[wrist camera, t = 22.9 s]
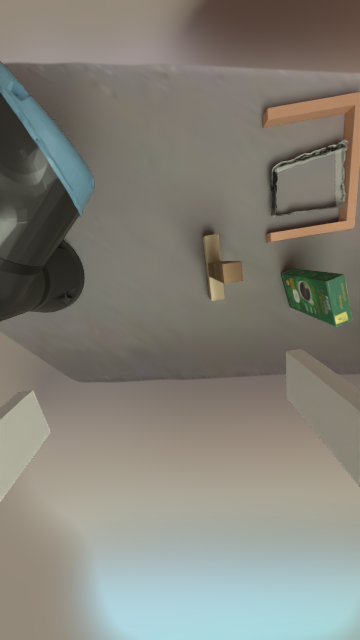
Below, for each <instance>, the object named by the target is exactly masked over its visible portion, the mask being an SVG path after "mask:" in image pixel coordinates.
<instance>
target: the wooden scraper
mask: <svg viewBox="0 0 360 640" xmlns="http://www.w3.org/2000/svg"><path fill="white" fill-rule="evenodd" d="M202 239H203V247H204V256H205V265H206V273H207V282H208V291H209V298H210V300H211V301H215V300H222V299H224V288H223V283H224V284H226V283H232V282H238V281H243V274H242V261H221V256H220V245H219V235H218V234H214V235H208V236H204V237H203V238H202Z"/></svg>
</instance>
